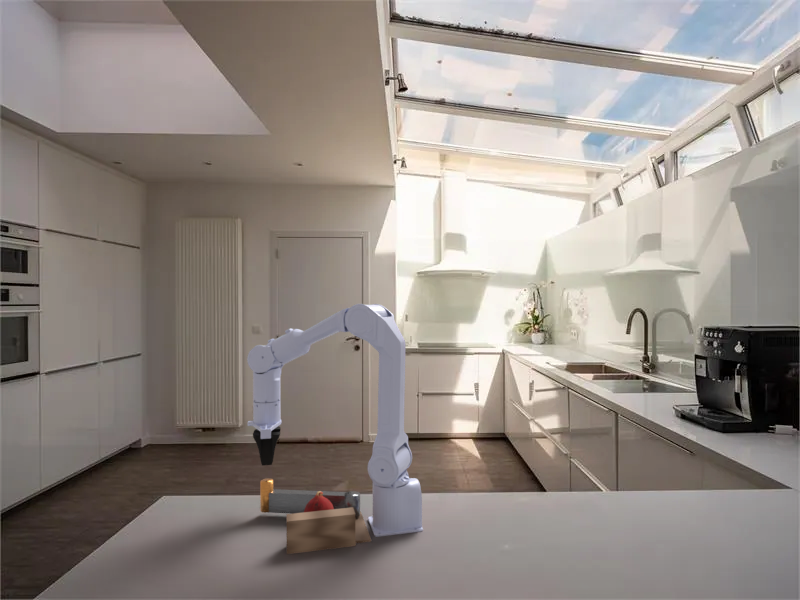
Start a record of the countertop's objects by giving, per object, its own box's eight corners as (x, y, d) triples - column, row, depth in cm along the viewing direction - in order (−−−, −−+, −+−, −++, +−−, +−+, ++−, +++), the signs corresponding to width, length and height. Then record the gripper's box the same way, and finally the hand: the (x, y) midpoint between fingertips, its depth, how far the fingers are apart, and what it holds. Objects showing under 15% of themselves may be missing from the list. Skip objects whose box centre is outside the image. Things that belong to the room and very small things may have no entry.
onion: (328, 543, 87) (327, 499, 87) (298, 540, 88) (298, 496, 88) (338, 528, 93) (338, 487, 93) (310, 526, 94) (310, 485, 94)
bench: (360, 514, 99) (360, 485, 99) (372, 545, 86) (371, 512, 86) (286, 522, 96) (286, 492, 96) (286, 556, 83) (286, 521, 83)
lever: (361, 511, 98) (361, 481, 98) (358, 517, 95) (358, 487, 95) (263, 506, 101) (263, 477, 101) (257, 513, 97) (257, 483, 97)
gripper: (249, 395, 109) (250, 454, 109) (244, 408, 95) (244, 476, 95) (281, 393, 111) (281, 452, 111) (281, 406, 97) (281, 473, 97)
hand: (267, 463), depth 103 cm, fingers closed
